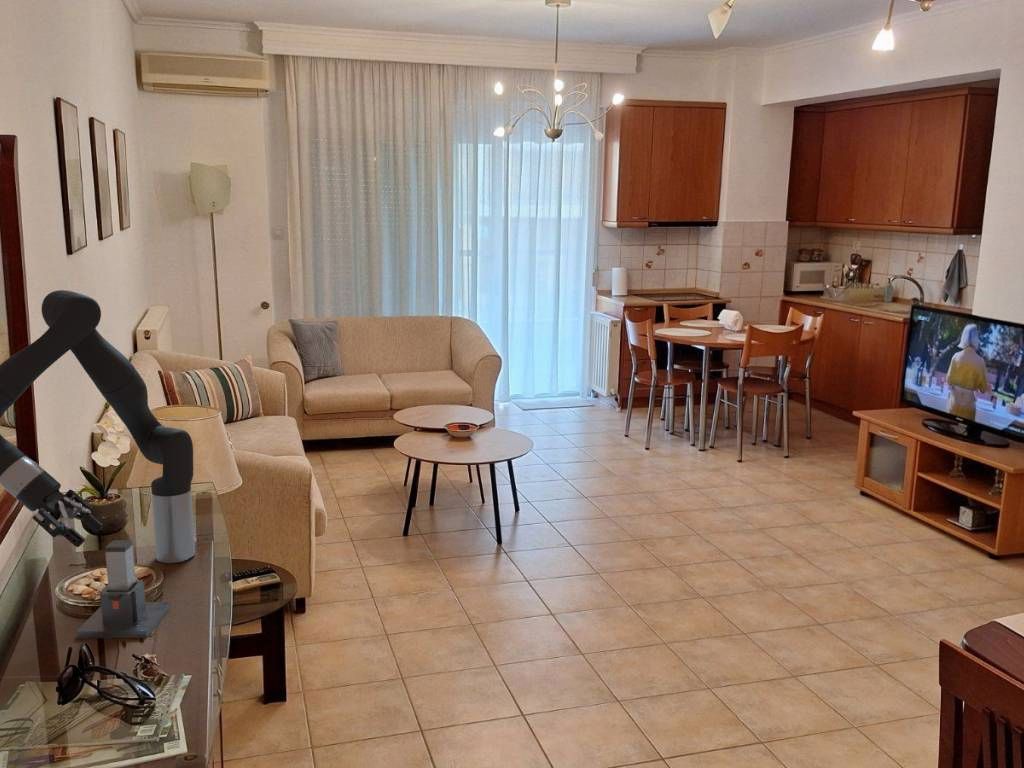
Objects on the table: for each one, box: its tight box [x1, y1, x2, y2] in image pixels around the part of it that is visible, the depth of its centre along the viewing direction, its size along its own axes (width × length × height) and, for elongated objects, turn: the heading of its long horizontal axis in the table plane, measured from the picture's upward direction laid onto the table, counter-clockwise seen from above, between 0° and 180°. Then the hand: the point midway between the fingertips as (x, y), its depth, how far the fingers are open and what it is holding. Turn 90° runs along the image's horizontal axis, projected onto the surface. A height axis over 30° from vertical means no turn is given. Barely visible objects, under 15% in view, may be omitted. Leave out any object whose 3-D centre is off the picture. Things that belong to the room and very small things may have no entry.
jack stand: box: [75, 579, 171, 640], centre depth 190 cm, size 14×14×8 cm
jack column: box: [104, 539, 136, 592], centre depth 189 cm, size 4×4×16 cm
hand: (91, 536), depth 187 cm, fingers open, 8 cm apart
